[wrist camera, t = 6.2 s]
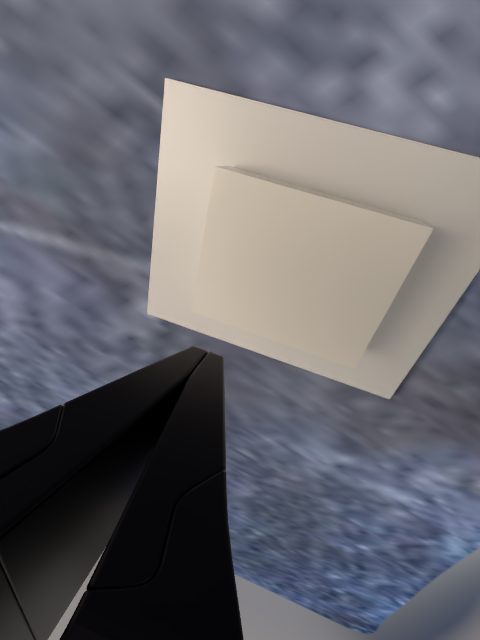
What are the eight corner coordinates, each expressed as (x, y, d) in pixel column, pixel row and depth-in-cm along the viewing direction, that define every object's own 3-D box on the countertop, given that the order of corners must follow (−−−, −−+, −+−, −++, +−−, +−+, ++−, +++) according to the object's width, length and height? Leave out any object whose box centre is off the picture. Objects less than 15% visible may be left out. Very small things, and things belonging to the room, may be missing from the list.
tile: (230, 165, 16) (418, 218, 15) (205, 295, 20) (351, 345, 19) (215, 166, 14) (433, 228, 13) (191, 312, 18) (354, 368, 17)
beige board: (537, 173, 13) (545, 174, 13) (388, 393, 21) (389, 399, 20) (170, 80, 15) (165, 77, 15) (151, 310, 23) (147, 313, 22)
